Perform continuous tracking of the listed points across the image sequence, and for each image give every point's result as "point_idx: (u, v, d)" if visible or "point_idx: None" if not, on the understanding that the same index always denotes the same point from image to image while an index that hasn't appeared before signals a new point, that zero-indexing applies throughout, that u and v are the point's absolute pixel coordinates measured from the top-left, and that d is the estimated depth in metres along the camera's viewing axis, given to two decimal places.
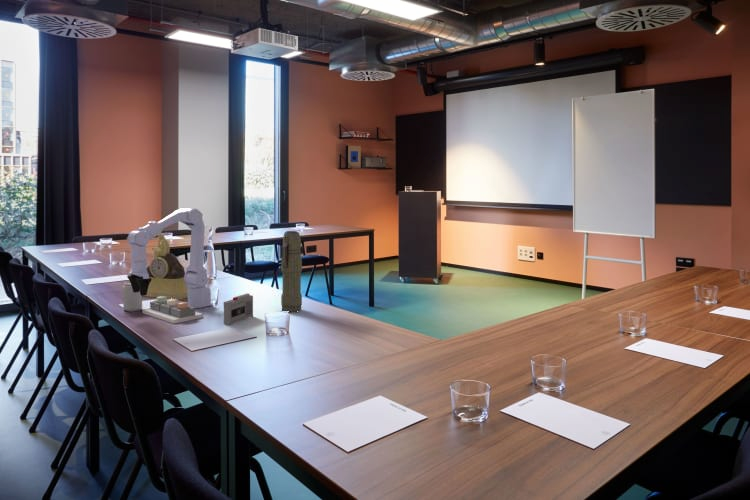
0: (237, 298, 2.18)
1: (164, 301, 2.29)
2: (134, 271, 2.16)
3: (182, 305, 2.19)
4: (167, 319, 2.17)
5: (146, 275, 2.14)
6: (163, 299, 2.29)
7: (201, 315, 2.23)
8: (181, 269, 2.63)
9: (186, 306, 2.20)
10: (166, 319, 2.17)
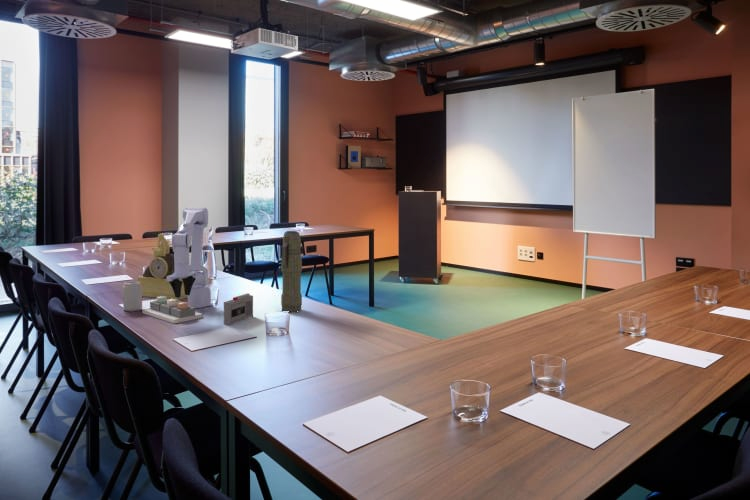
0: (237, 298, 2.18)
1: (164, 301, 2.29)
2: None
3: (182, 305, 2.19)
4: (167, 319, 2.17)
5: (168, 278, 2.12)
6: (163, 299, 2.29)
7: (201, 315, 2.23)
8: None
9: (186, 306, 2.20)
10: (166, 319, 2.17)
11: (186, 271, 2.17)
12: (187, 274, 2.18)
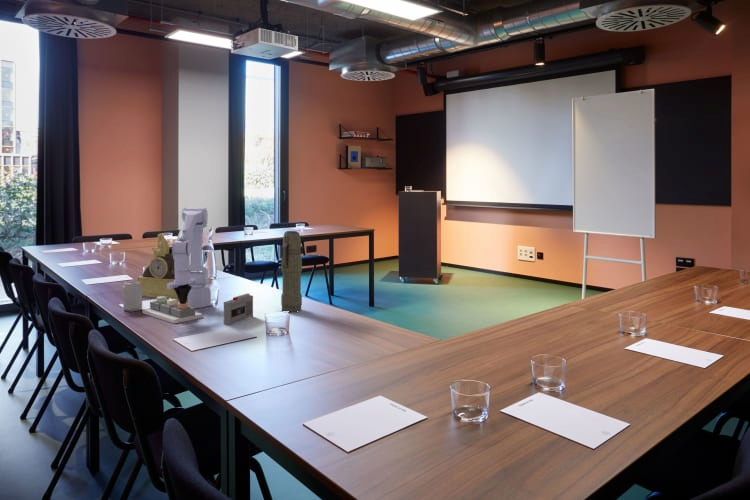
0: (237, 298, 2.18)
1: (164, 301, 2.29)
2: None
3: (182, 305, 2.19)
4: (167, 319, 2.17)
5: (168, 285, 2.13)
6: (163, 299, 2.29)
7: (201, 315, 2.23)
8: None
9: (186, 306, 2.20)
10: (166, 319, 2.17)
11: (186, 279, 2.18)
12: (187, 282, 2.18)
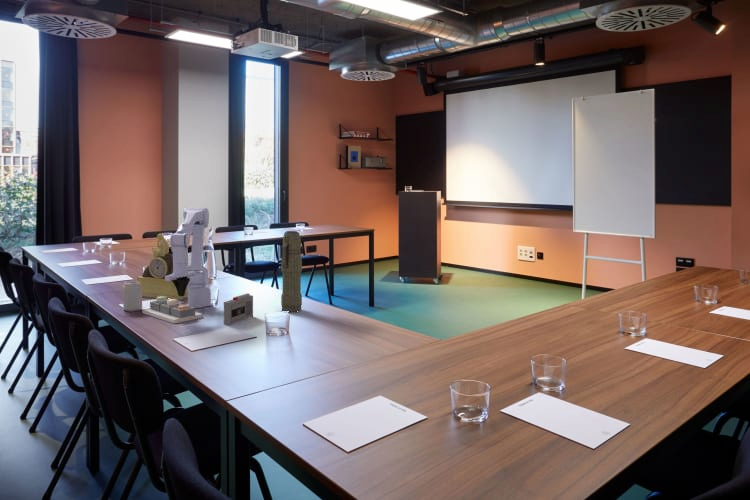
0: (237, 298, 2.18)
1: (164, 301, 2.29)
2: None
3: (182, 308, 2.19)
4: (167, 319, 2.17)
5: (166, 277, 2.13)
6: (163, 299, 2.29)
7: (201, 315, 2.23)
8: None
9: None
10: (166, 319, 2.17)
11: (184, 271, 2.18)
12: (185, 274, 2.18)
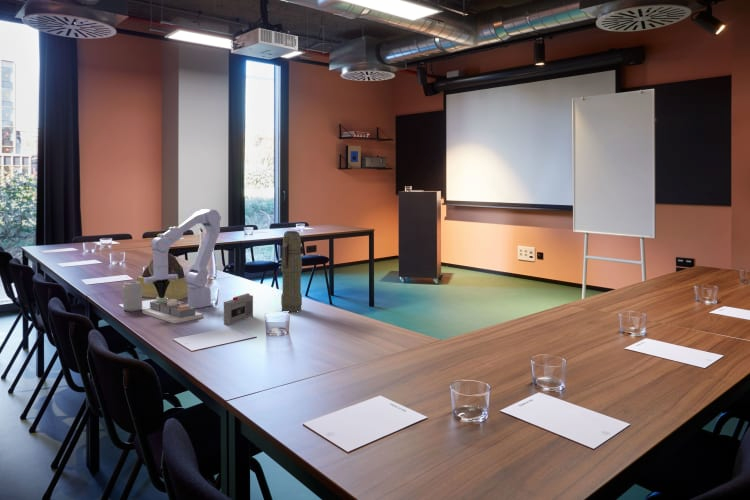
0: (237, 298, 2.18)
1: (164, 301, 2.29)
2: None
3: (182, 308, 2.19)
4: (167, 319, 2.17)
5: (144, 279, 2.24)
6: (163, 299, 2.29)
7: (201, 315, 2.23)
8: (180, 269, 2.62)
9: None
10: (166, 319, 2.17)
11: (163, 274, 2.27)
12: (164, 277, 2.27)
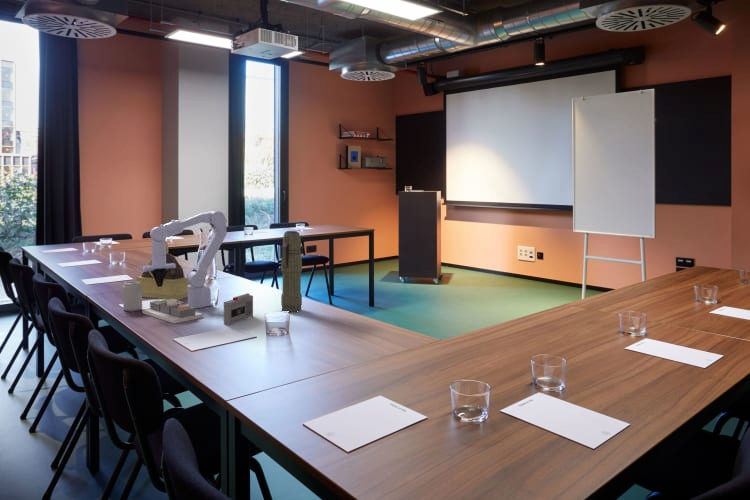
0: (237, 298, 2.18)
1: None
2: None
3: (182, 308, 2.19)
4: (167, 319, 2.17)
5: (143, 268, 2.27)
6: (163, 302, 2.29)
7: (201, 315, 2.23)
8: (180, 270, 2.62)
9: None
10: (166, 319, 2.17)
11: (161, 263, 2.31)
12: (162, 266, 2.31)
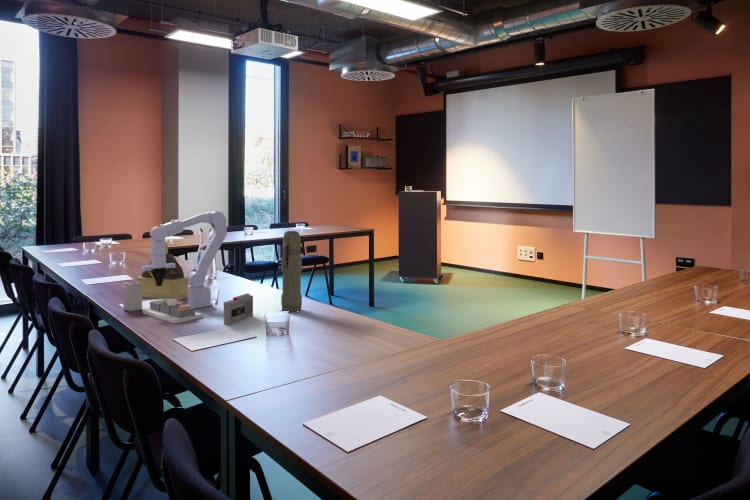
0: (237, 298, 2.18)
1: None
2: None
3: (182, 308, 2.19)
4: (167, 319, 2.17)
5: (142, 268, 2.28)
6: (163, 302, 2.29)
7: (201, 315, 2.23)
8: (179, 270, 2.61)
9: None
10: (166, 319, 2.17)
11: (161, 262, 2.31)
12: (162, 265, 2.31)
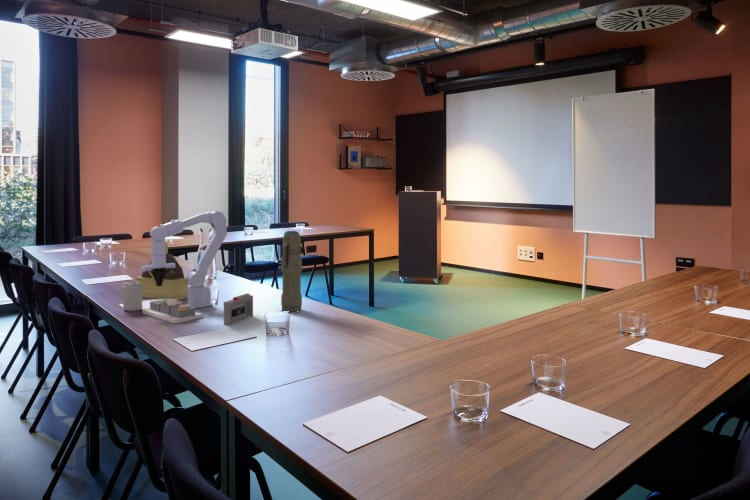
0: (237, 298, 2.18)
1: None
2: None
3: (182, 308, 2.19)
4: (167, 319, 2.17)
5: (142, 268, 2.28)
6: (163, 302, 2.29)
7: (201, 315, 2.23)
8: (179, 270, 2.61)
9: None
10: (166, 319, 2.17)
11: (161, 262, 2.31)
12: (162, 265, 2.31)
